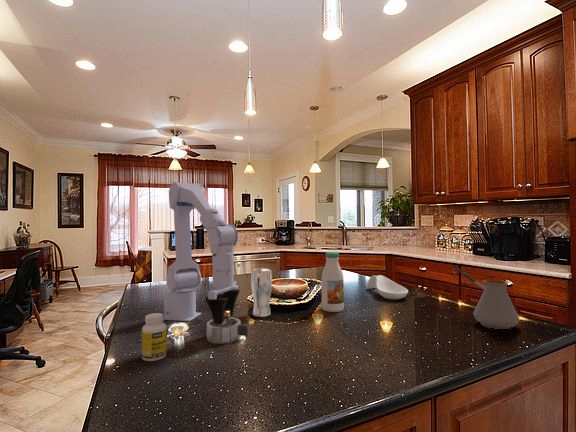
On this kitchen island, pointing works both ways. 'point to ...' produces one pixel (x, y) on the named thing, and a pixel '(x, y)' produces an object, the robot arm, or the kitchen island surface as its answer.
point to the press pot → (226, 331)
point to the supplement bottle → (154, 338)
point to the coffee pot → (494, 305)
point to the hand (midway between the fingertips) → (223, 319)
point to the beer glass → (261, 291)
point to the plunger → (226, 315)
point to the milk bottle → (332, 284)
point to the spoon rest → (387, 287)
